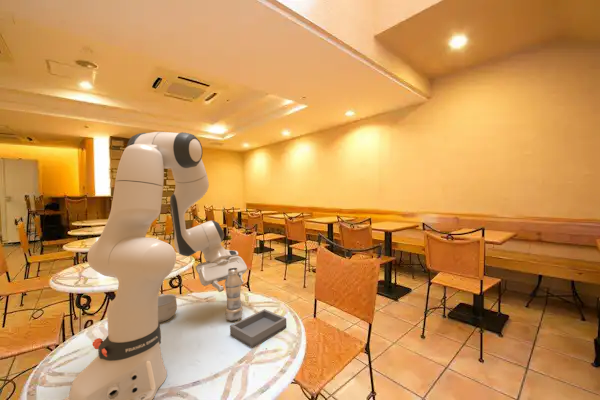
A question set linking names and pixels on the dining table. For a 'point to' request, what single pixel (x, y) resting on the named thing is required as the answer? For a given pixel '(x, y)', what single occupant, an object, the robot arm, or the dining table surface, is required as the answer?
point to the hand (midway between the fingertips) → (232, 287)
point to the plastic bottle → (233, 295)
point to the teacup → (166, 306)
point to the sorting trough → (257, 328)
